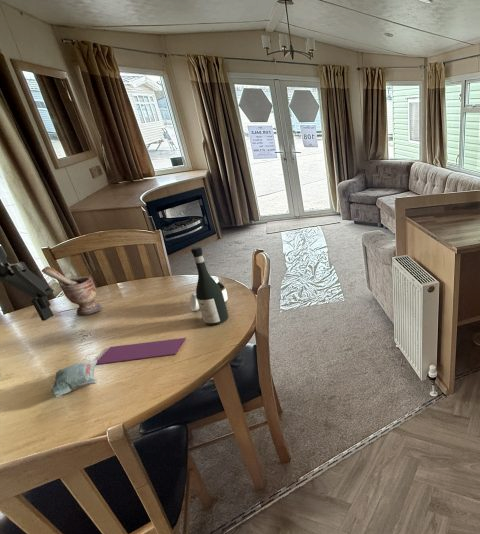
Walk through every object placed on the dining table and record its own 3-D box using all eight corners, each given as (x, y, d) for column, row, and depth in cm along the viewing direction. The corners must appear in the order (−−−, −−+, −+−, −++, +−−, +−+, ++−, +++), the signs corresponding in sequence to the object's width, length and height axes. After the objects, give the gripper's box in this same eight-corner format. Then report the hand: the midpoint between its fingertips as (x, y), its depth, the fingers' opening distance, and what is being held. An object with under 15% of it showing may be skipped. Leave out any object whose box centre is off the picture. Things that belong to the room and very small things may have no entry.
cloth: (93, 365, 105) (93, 364, 105) (110, 347, 113) (110, 346, 113) (175, 354, 111) (175, 353, 111) (186, 338, 119) (185, 337, 119)
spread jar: (232, 302, 142) (226, 277, 137) (209, 316, 132) (202, 290, 127) (209, 297, 145) (202, 273, 140) (185, 311, 135) (176, 285, 130)
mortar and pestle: (62, 322, 126) (37, 274, 117) (64, 312, 131) (40, 265, 123) (104, 311, 133) (83, 265, 124) (104, 303, 138) (84, 258, 130)
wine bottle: (217, 328, 125) (195, 253, 112) (199, 324, 127) (175, 250, 114) (233, 316, 132) (214, 245, 120) (216, 313, 134) (196, 242, 121)
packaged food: (100, 366, 105) (93, 353, 103) (99, 387, 97) (92, 374, 95) (60, 379, 100) (52, 366, 98) (56, 403, 92) (47, 389, 90)
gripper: (50, 240, 88) (82, 309, 97) (-70, 242, 83) (-25, 315, 92) (23, 250, 81) (61, 324, 90) (-108, 254, 77) (-56, 331, 86)
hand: (18, 319), depth 91 cm, fingers open, 13 cm apart
